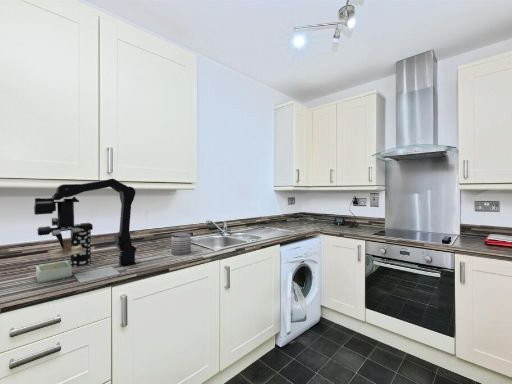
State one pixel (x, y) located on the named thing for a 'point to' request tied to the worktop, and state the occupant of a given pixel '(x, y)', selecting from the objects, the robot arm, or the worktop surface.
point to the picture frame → (96, 274)
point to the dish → (53, 271)
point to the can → (180, 244)
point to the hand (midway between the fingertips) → (66, 248)
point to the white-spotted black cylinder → (85, 242)
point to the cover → (66, 250)
